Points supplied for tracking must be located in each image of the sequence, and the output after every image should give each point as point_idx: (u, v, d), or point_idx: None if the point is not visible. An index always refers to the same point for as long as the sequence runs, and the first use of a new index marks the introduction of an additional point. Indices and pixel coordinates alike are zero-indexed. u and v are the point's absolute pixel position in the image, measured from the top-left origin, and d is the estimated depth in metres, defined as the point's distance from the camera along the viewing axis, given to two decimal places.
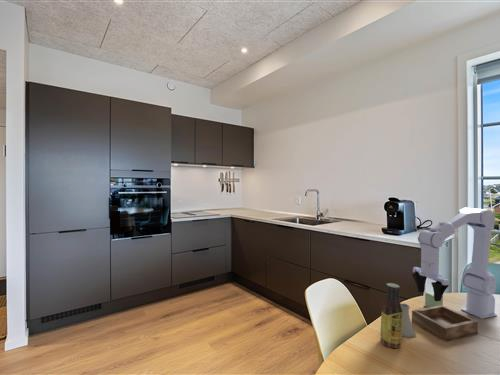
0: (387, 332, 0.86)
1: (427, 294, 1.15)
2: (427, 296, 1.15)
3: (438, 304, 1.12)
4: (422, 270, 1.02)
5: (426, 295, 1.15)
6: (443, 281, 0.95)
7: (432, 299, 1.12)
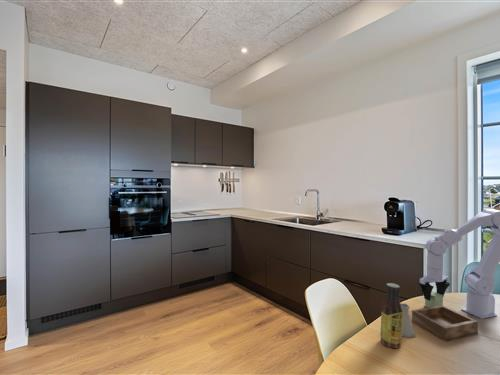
0: (387, 332, 0.86)
1: None
2: None
3: (438, 304, 1.12)
4: None
5: None
6: None
7: (432, 299, 1.12)
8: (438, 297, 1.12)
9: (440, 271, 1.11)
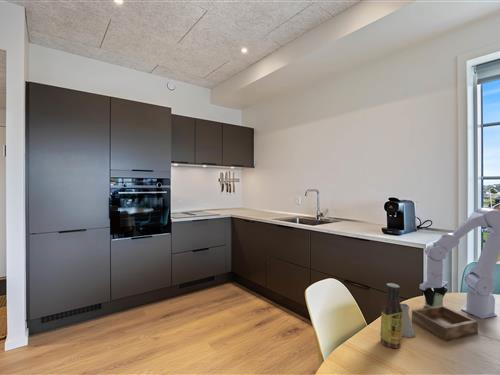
0: (387, 332, 0.86)
1: None
2: None
3: (438, 304, 1.12)
4: None
5: None
6: None
7: None
8: (438, 297, 1.12)
9: (440, 277, 1.11)
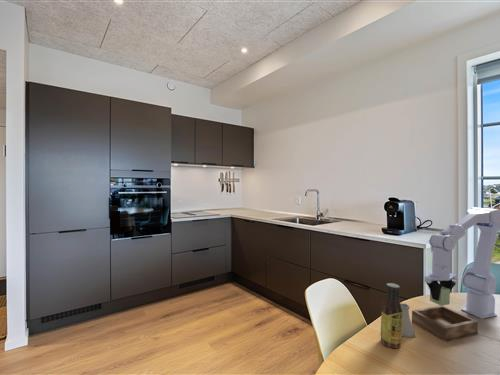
0: (387, 332, 0.86)
1: None
2: None
3: (445, 298, 1.01)
4: None
5: None
6: None
7: None
8: (444, 291, 1.01)
9: (447, 268, 1.00)
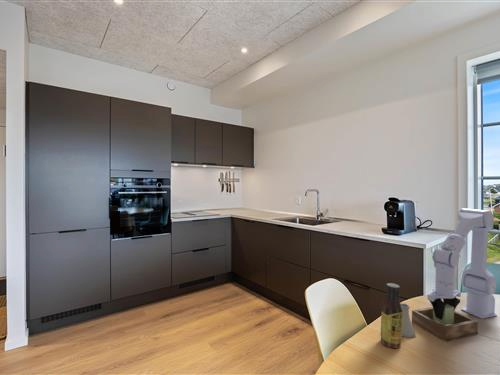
0: (387, 332, 0.86)
1: None
2: None
3: (449, 317, 0.96)
4: None
5: None
6: None
7: None
8: (449, 309, 0.96)
9: (451, 286, 0.95)
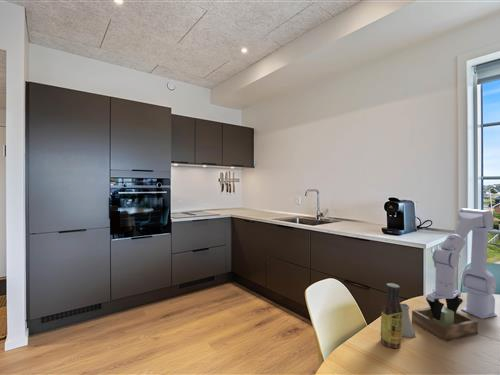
0: (387, 332, 0.86)
1: None
2: None
3: (449, 322, 0.96)
4: None
5: None
6: None
7: (441, 316, 0.96)
8: (448, 314, 0.96)
9: (451, 286, 0.95)
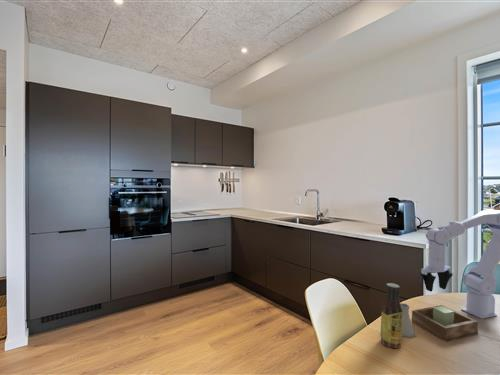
0: (387, 332, 0.86)
1: (435, 310, 0.99)
2: (435, 312, 0.99)
3: (449, 322, 0.96)
4: None
5: (434, 311, 0.99)
6: None
7: (441, 316, 0.96)
8: (448, 314, 0.96)
9: (442, 261, 1.07)
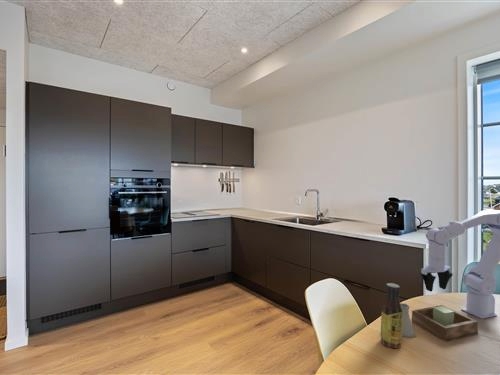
0: (387, 332, 0.86)
1: (435, 310, 0.99)
2: (435, 312, 0.99)
3: (449, 322, 0.96)
4: None
5: (434, 311, 0.99)
6: None
7: (441, 316, 0.96)
8: (448, 314, 0.96)
9: (442, 261, 1.07)
